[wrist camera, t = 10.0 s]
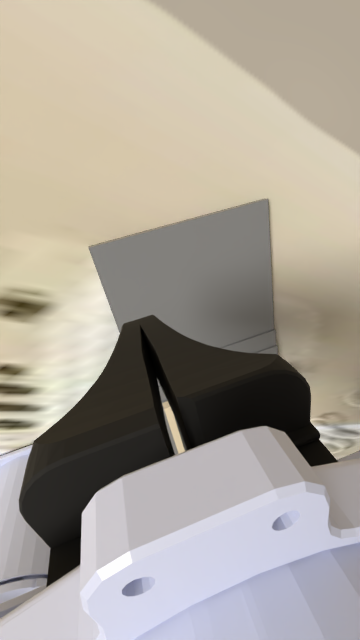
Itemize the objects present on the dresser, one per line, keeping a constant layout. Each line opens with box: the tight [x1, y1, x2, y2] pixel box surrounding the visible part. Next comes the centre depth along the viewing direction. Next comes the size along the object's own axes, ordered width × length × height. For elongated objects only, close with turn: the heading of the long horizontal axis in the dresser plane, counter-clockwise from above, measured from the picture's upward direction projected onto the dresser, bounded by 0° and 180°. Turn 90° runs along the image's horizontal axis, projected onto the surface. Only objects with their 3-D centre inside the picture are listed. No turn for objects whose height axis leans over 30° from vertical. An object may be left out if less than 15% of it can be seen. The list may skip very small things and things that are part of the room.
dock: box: [89, 199, 278, 455], centre depth 23 cm, size 12×22×2 cm, turn 12°
